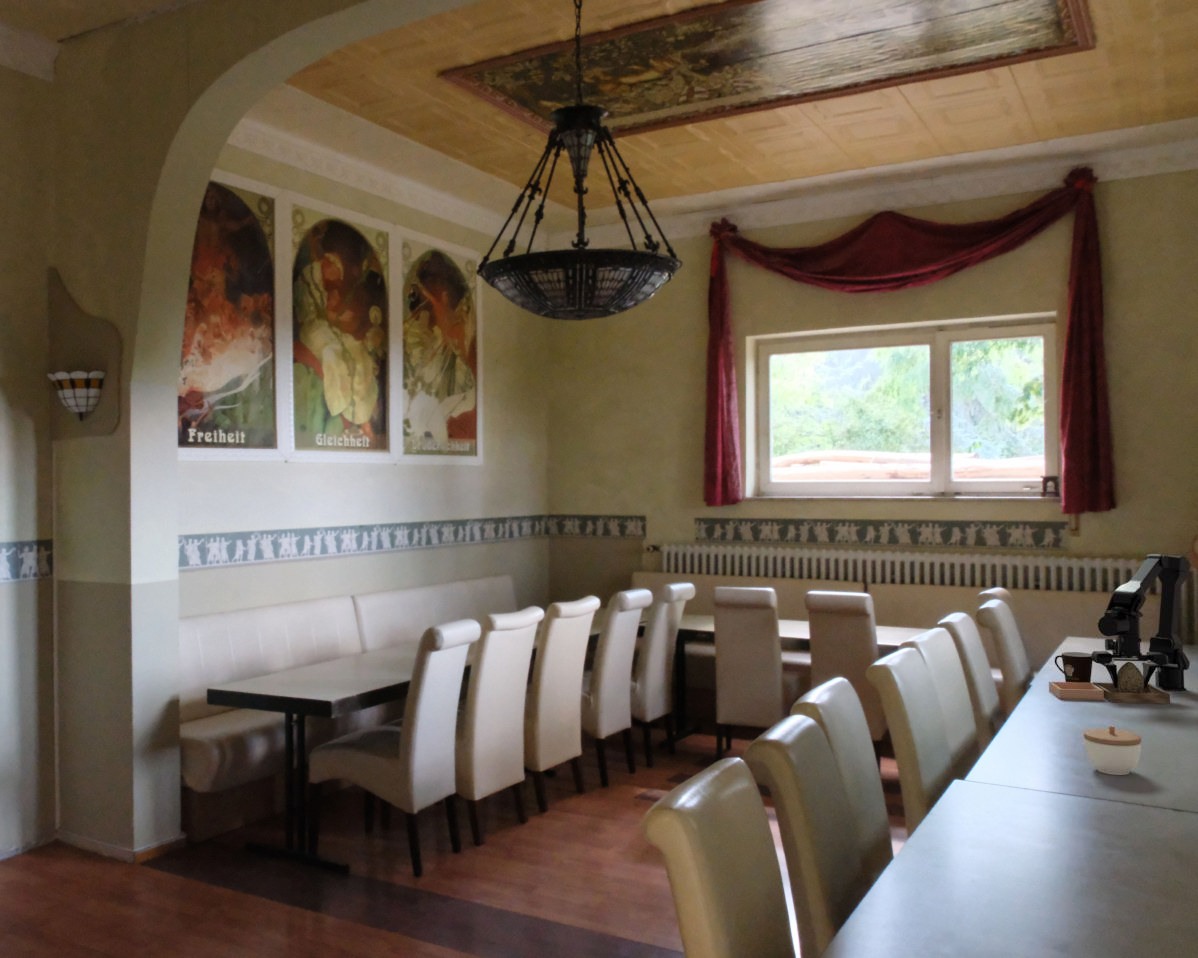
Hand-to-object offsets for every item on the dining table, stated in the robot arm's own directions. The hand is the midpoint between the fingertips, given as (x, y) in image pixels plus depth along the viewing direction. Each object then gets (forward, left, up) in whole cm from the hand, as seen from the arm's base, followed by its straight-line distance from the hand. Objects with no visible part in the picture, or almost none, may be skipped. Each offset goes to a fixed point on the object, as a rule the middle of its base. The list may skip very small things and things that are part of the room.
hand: (1130, 687), depth 278 cm
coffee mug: (+11, -14, -3) cm, 18 cm away
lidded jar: (+29, +80, -3) cm, 85 cm away
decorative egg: (0, 0, -3) cm, 3 cm away
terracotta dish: (+15, 0, -2) cm, 15 cm away
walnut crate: (0, 0, -2) cm, 2 cm away
